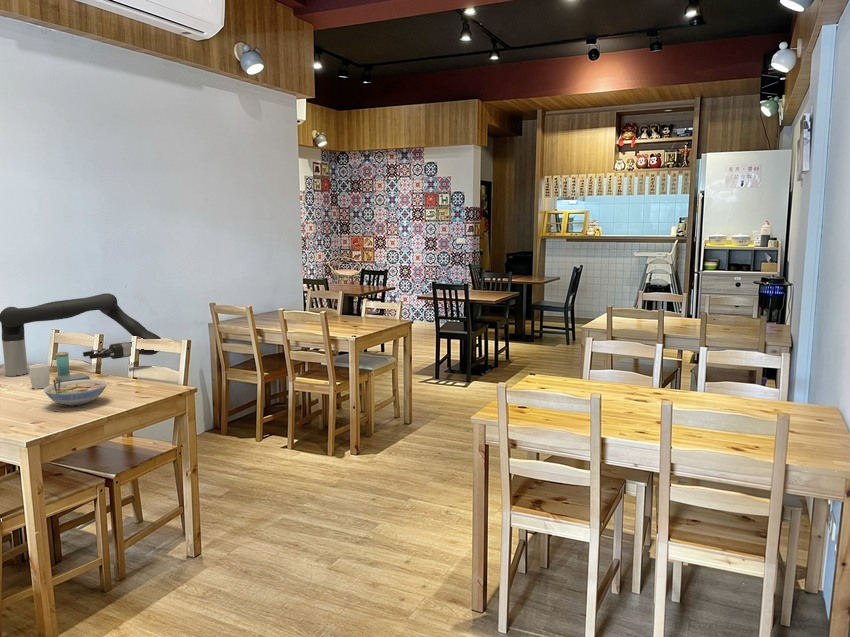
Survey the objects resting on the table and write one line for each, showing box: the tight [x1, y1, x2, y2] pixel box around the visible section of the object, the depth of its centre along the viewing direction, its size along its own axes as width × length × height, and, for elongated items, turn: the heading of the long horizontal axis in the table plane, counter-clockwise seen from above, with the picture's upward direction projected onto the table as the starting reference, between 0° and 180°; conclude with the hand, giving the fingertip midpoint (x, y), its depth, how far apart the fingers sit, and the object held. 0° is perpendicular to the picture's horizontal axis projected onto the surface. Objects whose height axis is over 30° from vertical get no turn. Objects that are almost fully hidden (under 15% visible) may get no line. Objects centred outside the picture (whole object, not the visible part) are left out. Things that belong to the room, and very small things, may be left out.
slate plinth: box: [54, 372, 91, 384], centre depth 285 cm, size 11×11×4 cm
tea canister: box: [55, 351, 71, 377], centre depth 292 cm, size 5×5×13 cm
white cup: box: [28, 363, 51, 390], centre depth 278 cm, size 8×8×10 cm
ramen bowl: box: [42, 379, 108, 407], centre depth 252 cm, size 25×23×8 cm
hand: (86, 355), depth 299 cm, fingers open, 8 cm apart
